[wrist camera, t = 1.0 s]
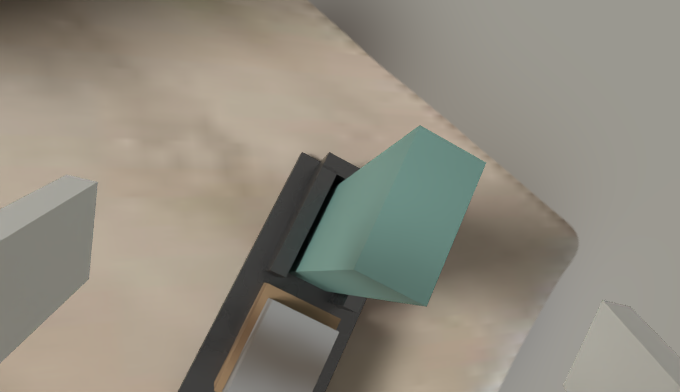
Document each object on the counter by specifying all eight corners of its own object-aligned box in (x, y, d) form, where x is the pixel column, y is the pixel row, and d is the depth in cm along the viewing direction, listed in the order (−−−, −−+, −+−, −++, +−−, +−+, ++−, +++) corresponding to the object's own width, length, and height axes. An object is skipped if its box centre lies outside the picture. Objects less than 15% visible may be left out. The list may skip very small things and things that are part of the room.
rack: (294, 450, 39) (308, 481, 33) (174, 397, 38) (167, 420, 32) (402, 209, 44) (430, 199, 38) (300, 154, 43) (313, 135, 37)
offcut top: (286, 421, 36) (292, 434, 33) (221, 392, 35) (221, 402, 32) (329, 327, 37) (339, 331, 34) (268, 297, 37) (272, 299, 34)
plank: (326, 291, 41) (426, 306, 21) (287, 272, 40) (353, 269, 21) (362, 213, 42) (486, 162, 23) (325, 193, 42) (419, 125, 23)
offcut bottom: (286, 414, 39) (292, 426, 36) (214, 381, 38) (214, 390, 35) (332, 315, 40) (341, 318, 38) (263, 282, 40) (267, 283, 37)
